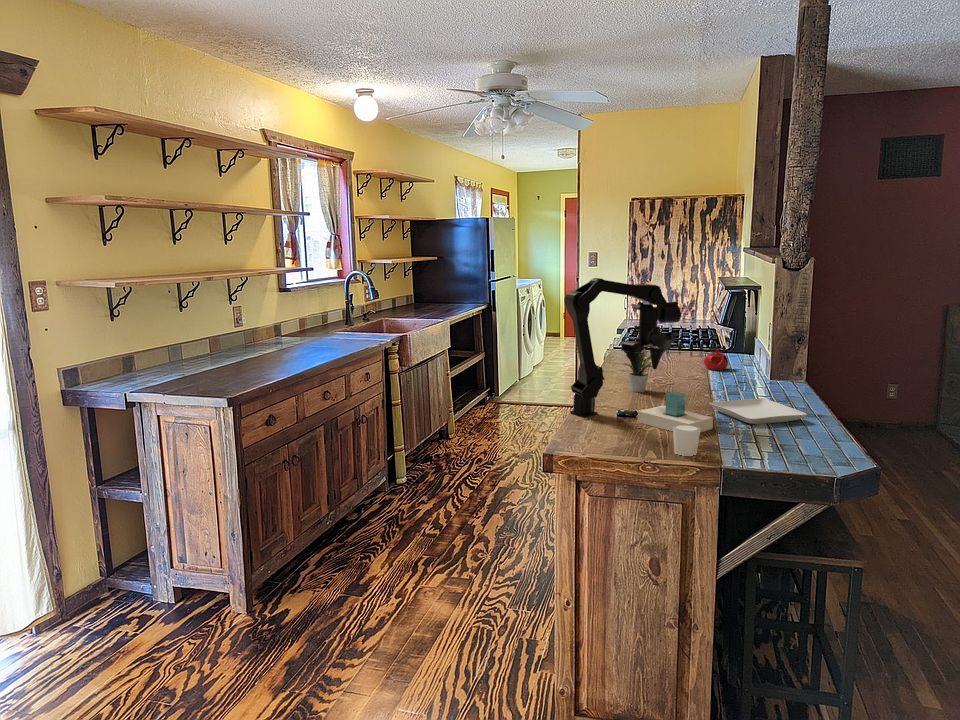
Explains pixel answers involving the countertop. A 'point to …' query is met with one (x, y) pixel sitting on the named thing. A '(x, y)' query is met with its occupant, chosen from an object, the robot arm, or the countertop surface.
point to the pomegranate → (716, 361)
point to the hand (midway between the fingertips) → (645, 370)
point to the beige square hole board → (673, 419)
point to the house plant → (639, 375)
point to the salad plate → (758, 411)
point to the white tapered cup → (686, 439)
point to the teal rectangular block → (675, 404)
